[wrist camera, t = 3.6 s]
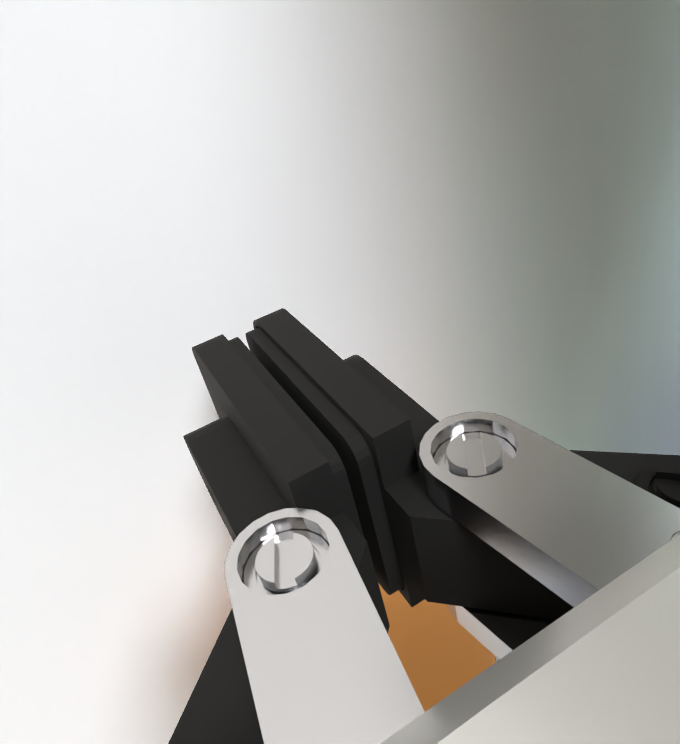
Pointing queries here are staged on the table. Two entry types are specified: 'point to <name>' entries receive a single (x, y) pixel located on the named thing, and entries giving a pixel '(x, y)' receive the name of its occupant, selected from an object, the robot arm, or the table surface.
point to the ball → (433, 648)
